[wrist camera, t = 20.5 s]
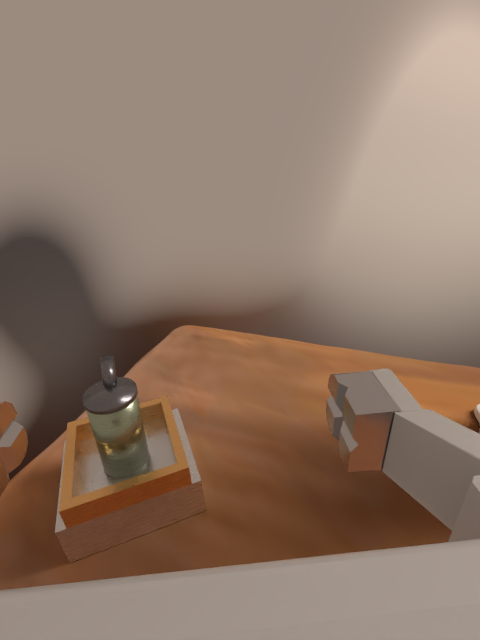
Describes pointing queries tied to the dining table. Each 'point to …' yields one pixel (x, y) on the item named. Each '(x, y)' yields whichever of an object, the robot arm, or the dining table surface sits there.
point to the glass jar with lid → (116, 422)
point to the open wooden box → (126, 486)
